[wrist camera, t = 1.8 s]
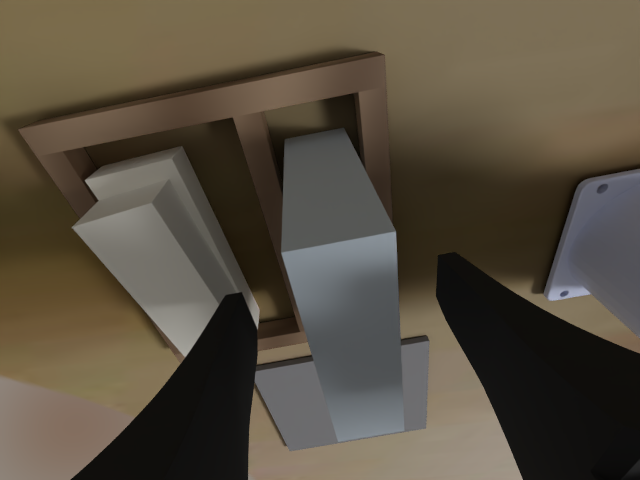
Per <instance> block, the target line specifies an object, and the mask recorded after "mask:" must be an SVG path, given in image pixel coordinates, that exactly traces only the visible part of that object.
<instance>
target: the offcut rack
mask: <svg viewBox="0 0 640 480" xmlns="http://www.w3.org/2000/svg"><path fill="white" fill-rule="evenodd" d="M352 93H354V100H355V110H356V120H357V130H358V139H359V149H360V159H361V163H362V165H363V167H364V169H365V171H366V173H367V175H368V177H369V179H370V181H371V183H372V185H373V187H374V189H375V191H376V193H377V195H378V197H379V199H380V201H381V203H382V205H383V207H384V209H385V211H386V213H387V215H388V216H389V218H390V220H391V222H392V224H393V214H392V194H391V173H390V152H389V132H388V111H387V91H386V70H385V55H384V54H381V53H379V52H373V53H368V54H363V55H358V56H353V57H348V58H344V59H339V60H334V61H329V62H324V63H319V64H314V65H309V66H304V67H299V68H294V69H289V70H285V71H280V72H275V73H270V74H265V75H260V76H255V77H250V78H245V79H240V80H235V81H231V82H226V83H221V84H216V85H211V86H206V87H201V88H196V89H191V90H186V91H181V92H176V93H172V94H167V95H162V96H157V97H152V98H147V99H142V100H137V101H132V102H127V103H122V104H117V105H113V106H108V107H103V108H98V109H93V110H88V111H83V112H78V113H73V114H68V115H63V116H59V117H54V118H49V119H44V120H39V121H37V122H34V123H32V124H29V125H27V126H24V127H22V128H20V129H18V131H19V132H20V134H21V135H22V136H23V138H24V139H25V141H26V142H27V144H28V145H29V147H30V148H31V149H32V151H33V152H34V154H35V155H36V157H37V158H38V159H39V161H40V162H41V164H42V165H43V167H44V168H45V169H46V171H47V172H48V174H49V175H50V177H51V178H52V180H53V181H54V182H55V184H56V185H57V187H58V188H59V190H60V191H61V192H62V194H63V195H64V197H65V198H66V200H67V201H68V203H69V204H70V205H71V207H72V208H73V210H74V211H75V213H76V214H77V215H78V217H79V218H80V219H81V218H82V217H83V216H84V215H85V214H86V213H87V212H88V211H89V210H90V209H91V208H92V207H93V206H94V205H95V204H96V203H97V202H98V201H99V200H98V199H97V197H96V196H95V195H94V193H93V192H92V190H91V189H90V187H89V186H88V185H87V183H86V182H85V180H86V179H87V178H88V177H89V176H91V175H92V174H93V173H94V172H95V171H97V169H96V167H95V165H94V164H93V162H92V160H91V159H90V157H89V155H88V154H87V152H86V150H85V149H84V147H87V146H92V145H97V144H102V143H107V142H112V141H117V140H122V139H127V138H132V137H137V136H142V135H147V134H152V133H157V132H162V131H167V130H172V129H177V128H182V127H187V126H192V125H197V124H202V123H207V122H212V121H217V120H222V119H227V118H232V117H233V119H234V123H235V126H236V129H237V132H238V135H239V139H240V142H241V145H242V148H243V151H244V155H245V158H246V161H247V164H248V167H249V170H250V174H251V177H252V180H253V183H254V186H255V190H256V193H257V196H258V199H259V202H260V205H261V209H262V212H263V215H264V218H265V221H266V225H267V228H268V231H269V234H270V237H271V241H272V244H273V247H274V250H275V253H276V256H277V260H278V263H279V266H280V269H281V272H282V276H283V279H284V282H285V285H286V288H287V292H288V295H289V298H290V301H291V304H292V307H293V311H294V314H295V317H292V318H286V319H281V320H275V321H270V322H264V323H258V329H257V333H258V351H261V350H267V349H272V348H278V347H284V346H289V345H295V344H301V343H306V342H308V340H307V337H306V334H305V330H304V327H303V324H302V320H301V317H300V314H299V310H298V307H297V304H296V300H295V297H294V294H293V290H292V287H291V284H290V280H289V277H288V274H287V270H286V267H285V264H284V260H283V257H282V254H281V242H282V210H283V184H282V180H281V176H280V172H279V168H278V164H277V160H276V156H275V153H274V149H273V145H272V141H271V137H270V133H269V129H268V125H267V122H266V118H265V114H264V111H267V110H272V109H277V108H282V107H287V106H292V105H297V104H302V103H307V102H312V101H317V100H322V99H327V98H332V97H337V96H342V95H347V94H352ZM142 309H143V308H142ZM144 312H145V311H144ZM145 313H146V312H145ZM146 314H147V313H146ZM147 316H148V317H149V319H150V320H151V322H152V323H153V324H154V326H155V327H156V329H157V330H158V332H159V333H160V335H161V336H162V337H163V339H164V340H165V342H166V343H167V345H168V346H169V347H170V349H171V350H172V352H173V353H174V355H175V356H176V357H177V359H178V360H179V362H180V363H182V361H183V360H184V358H185V357H184V356H183V354H182V353H181V352H180V351H179V350H178V349H177V347H176V346H175V345H174V344H173V343H172V342H171V341H170V339H169V338H168V337H167V336H166V335H165V334H164V333H163V331H162V330H161V329H160V328H159V327H158V326H157V325H156V323H155V322H154V321H153V320H152V319H151V318H150V316H149V315H148V314H147Z"/></svg>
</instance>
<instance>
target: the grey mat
mask: <svg viewBox="0 0 640 480" xmlns="http://www.w3.org/2000/svg"><path fill="white" fill-rule="evenodd" d="M401 360H402V383H403V407H404V430H405V431H401V432H407V431H413V430H419V429H425V428H426V417H427V390H428V363H429V339H428V337H427V336H423V337H418V338H412V339H406V340H401ZM255 383H256V385H257V387H258V389H259V391H260V393H261V395H262V397H263V399H264V401H265V403H266V405H267V407H268V409H269V411H270V413H271V415H272V417H273V419H274V421H275V423H276V425H277V427H278V429H279V431H280V433H281V435H282V437H283V439H284V441H285V443H286V445H287V447H288V449H289V451H294V450H300V449H306V448H312V447H318V446H324V445H330V444H336V443H342V442H348V441H354V440H360V439H366V438H372V437H378V436H384V435H390V434H396V433H401V432H395V433H389V434H383V435H377V436H371V437H365V438H359V439H353V440H347V441H341V442H338V440H337V437H336V433H335V430H334V427H333V423H332V420H331V417H330V413H329V410H328V407H327V403H326V400H325V397H324V393H323V390H322V387H321V384H320V380H319V377H318V374H317V370H316V367H315V364H314V360H313V357H312V356H310V357H305V358H299V359H293V360H288V361H282V362H276V363H271V364H265V365H259V366H256V373H255Z"/></svg>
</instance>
